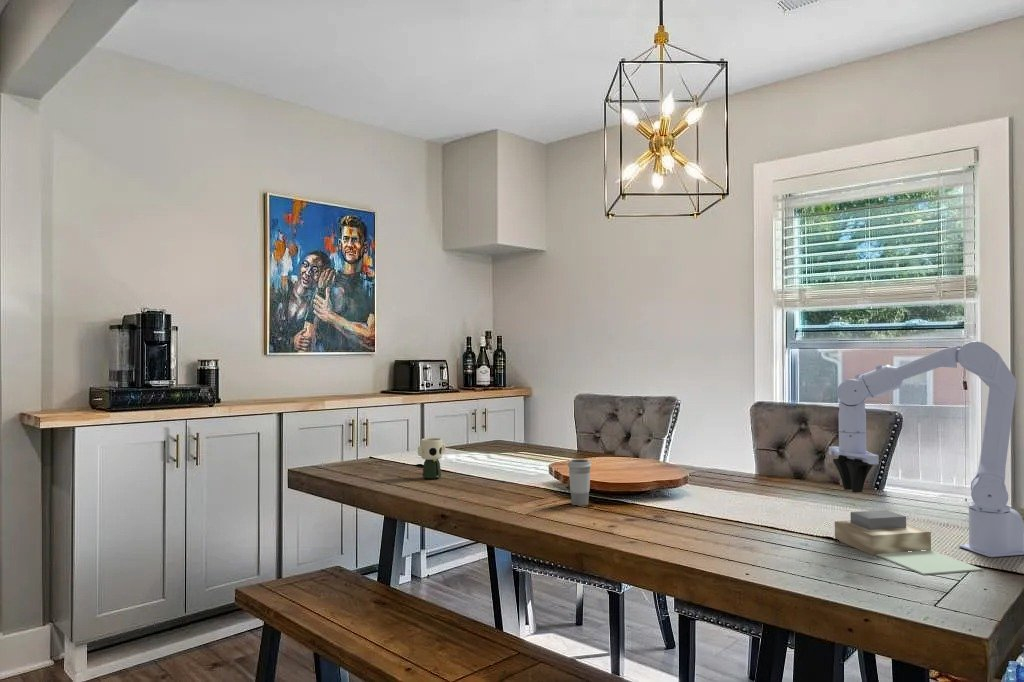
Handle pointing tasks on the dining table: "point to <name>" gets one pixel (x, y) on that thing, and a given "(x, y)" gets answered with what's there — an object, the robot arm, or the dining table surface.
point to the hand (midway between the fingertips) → (853, 490)
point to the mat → (928, 562)
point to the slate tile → (878, 519)
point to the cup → (579, 481)
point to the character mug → (431, 456)
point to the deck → (883, 538)
